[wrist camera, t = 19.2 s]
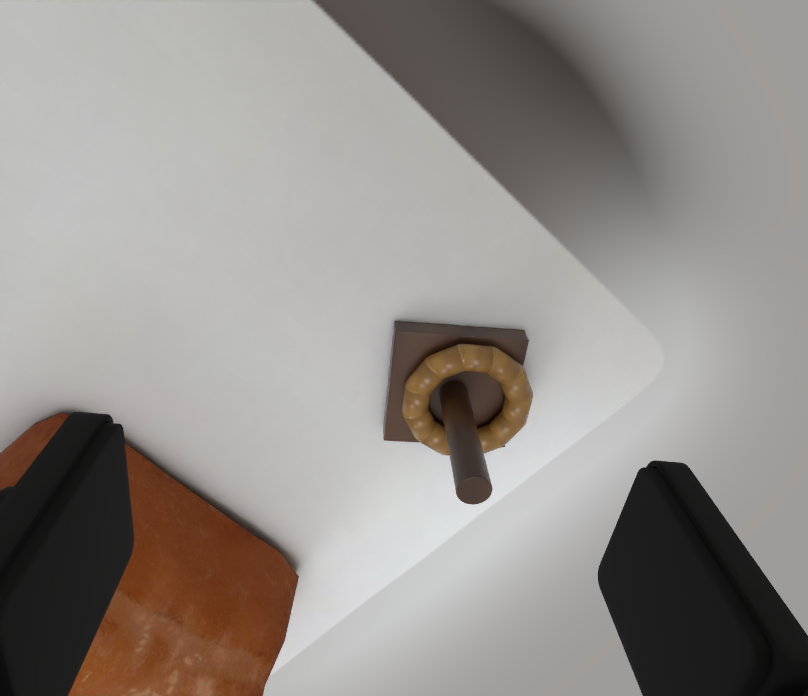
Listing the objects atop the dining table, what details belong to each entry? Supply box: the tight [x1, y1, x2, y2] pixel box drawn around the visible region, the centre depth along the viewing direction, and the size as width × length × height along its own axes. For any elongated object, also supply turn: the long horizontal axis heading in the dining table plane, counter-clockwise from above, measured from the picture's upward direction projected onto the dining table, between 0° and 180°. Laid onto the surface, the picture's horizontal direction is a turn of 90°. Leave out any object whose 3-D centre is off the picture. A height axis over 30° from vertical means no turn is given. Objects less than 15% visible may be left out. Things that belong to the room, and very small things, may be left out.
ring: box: [402, 344, 533, 455], centre depth 41 cm, size 9×9×2 cm
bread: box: [0, 413, 299, 696], centre depth 43 cm, size 17×24×15 cm
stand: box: [383, 321, 529, 504], centre depth 38 cm, size 9×9×12 cm
